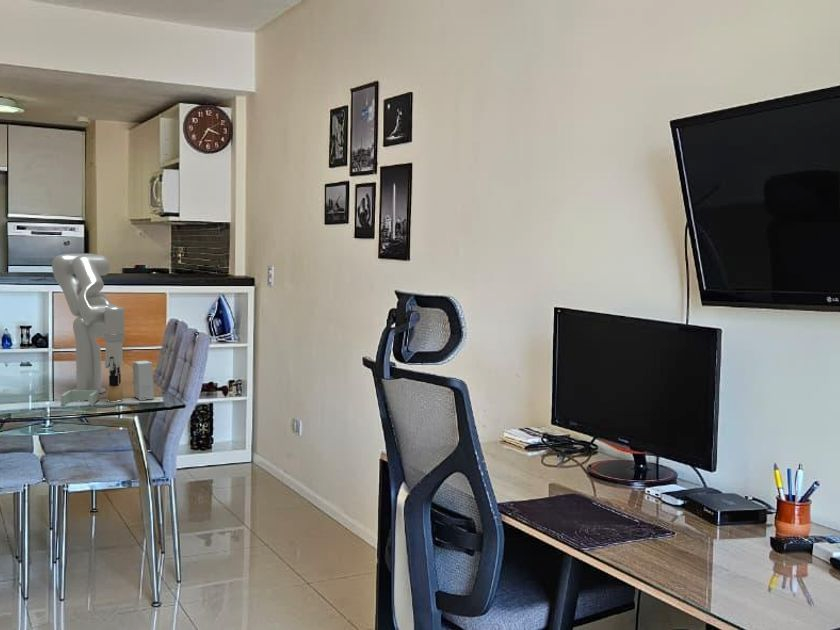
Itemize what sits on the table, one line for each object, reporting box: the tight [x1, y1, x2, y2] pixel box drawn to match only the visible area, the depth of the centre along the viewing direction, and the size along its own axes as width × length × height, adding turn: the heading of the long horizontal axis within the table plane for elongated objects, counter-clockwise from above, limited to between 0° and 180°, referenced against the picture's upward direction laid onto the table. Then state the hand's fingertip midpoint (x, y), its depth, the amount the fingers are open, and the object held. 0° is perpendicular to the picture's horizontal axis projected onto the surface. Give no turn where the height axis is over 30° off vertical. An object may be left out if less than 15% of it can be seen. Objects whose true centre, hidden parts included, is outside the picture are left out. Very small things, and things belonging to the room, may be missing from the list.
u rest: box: [60, 389, 100, 407], centre depth 344 cm, size 10×11×4 cm
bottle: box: [107, 372, 124, 401], centre depth 349 cm, size 6×6×11 cm
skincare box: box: [132, 360, 155, 401], centre depth 354 cm, size 8×6×15 cm
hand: (115, 384), depth 349 cm, fingers open, 4 cm apart
